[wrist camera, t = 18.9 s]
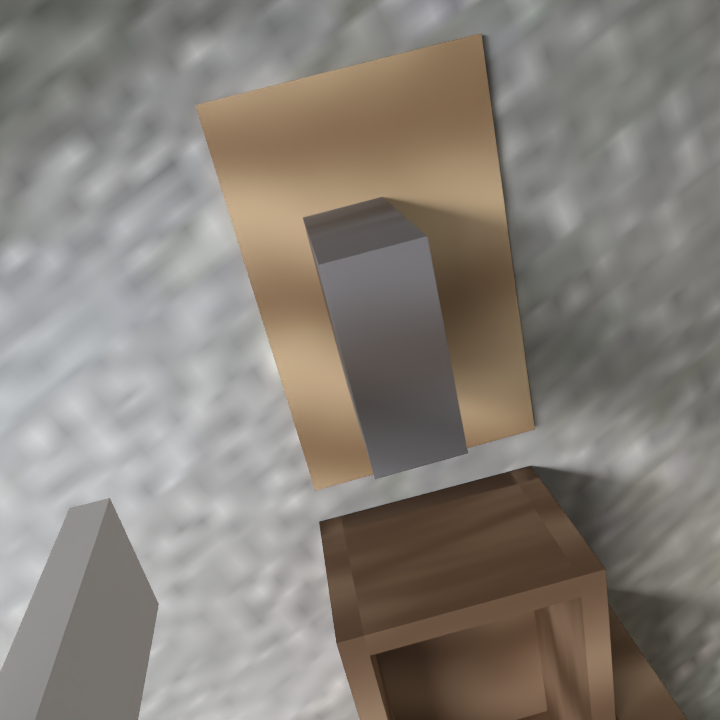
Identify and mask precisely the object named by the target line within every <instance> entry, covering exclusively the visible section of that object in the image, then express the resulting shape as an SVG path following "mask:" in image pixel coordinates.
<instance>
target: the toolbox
mask: <svg viewBox="0 0 720 720" xmlns="http://www.w3.org/2000/svg"><path fill="white" fill-rule="evenodd" d="M319 524H320V531H321V538H322V545H323V552H324V559H325V566H326V573H327V580H328V587H329V594H330V601H331V608H332V615H333V622H334V629H335V636H336V643H337V646H338V650H339V653H340V656H341V659H342V663H343V666H344V669H345V672H346V676H347V679H348V682H349V686H350V689H351V692H352V695H353V699H354V702H355V705H356V708H357V712H358V715H359V718H360V720H687V719H686V717H685V716H684V714H683V713H682V712H681V710H680V709H679V707H678V706H677V704H676V703H675V701H674V700H673V698H672V697H671V695H670V694H669V692H668V691H667V690H666V688H665V687H664V685H663V684H662V682H661V681H660V679H659V678H658V676H657V675H656V673H655V672H654V670H653V669H652V667H651V666H650V665H649V663H648V662H647V660H646V659H645V657H644V656H643V654H642V653H641V651H640V650H639V648H638V647H637V645H636V644H635V643H634V641H633V640H632V638H631V637H630V635H629V634H628V632H627V631H626V629H625V628H624V626H623V625H622V623H621V622H620V620H619V619H618V618H617V616H616V615H615V613H614V612H613V610H612V609H611V607H610V606H609V604H608V596H607V581H606V569H605V568H604V566H603V565H602V563H601V562H600V561H599V559H598V558H597V557H596V555H595V554H594V552H593V551H592V550H591V548H590V547H589V546H588V544H587V543H586V541H585V540H584V539H583V537H582V536H581V534H580V533H579V532H578V530H577V529H576V528H575V526H574V525H573V523H572V522H571V521H570V519H569V518H568V517H567V515H566V514H565V512H564V511H563V510H562V508H561V507H560V506H559V504H558V503H557V501H556V500H555V499H554V497H553V496H552V494H551V493H550V492H549V490H548V489H547V488H546V486H545V485H544V483H543V482H542V481H541V479H540V478H539V477H538V475H537V474H536V472H535V471H534V470H533V468H532V467H531V466H530V467H526V468H522V469H518V470H515V471H511V472H507V473H503V474H499V475H496V476H492V477H488V478H484V479H481V480H477V481H473V482H469V483H465V484H462V485H458V486H454V487H450V488H447V489H443V490H439V491H435V492H431V493H428V494H424V495H420V496H416V497H413V498H409V499H405V500H401V501H397V502H394V503H390V504H386V505H382V506H379V507H375V508H371V509H367V510H363V511H360V512H356V513H352V514H348V515H345V516H341V517H337V518H333V519H329V520H326V521H322V522H319Z"/></svg>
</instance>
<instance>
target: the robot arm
mask: <svg viewBox="0 0 720 720" xmlns="http://www.w3.org/2000/svg"><path fill="white" fill-rule="evenodd" d="M158 605H159V604H158V602H157V600H156V597H155V595H154V593H153V591H152V589H151V586H150V584H149V582H148V580H147V578H146V576H145V573H144V571H143V569H142V567H141V565H140V563H139V560H138V558H137V556H136V554H135V552H134V550H133V547H132V545H131V543H130V541H129V539H128V537H127V534H126V532H125V530H124V528H123V526H122V523H121V521H120V519H119V517H118V515H117V513H116V510H115V508H114V506H113V504H112V502H111V500H110V498H109V499H105V500H101V501H97V502H93V503H89V504H85V505H81V506H78V507H74V508H70V509H69V511H68V513H67V516H66V518H65V520H64V523H63V525H62V528H61V530H60V532H59V535H58V537H57V539H56V542H55V544H54V547H53V549H52V551H51V554H50V556H49V558H48V561H47V563H46V565H45V568H44V570H43V573H42V575H41V577H40V580H39V582H38V584H37V587H36V589H35V592H34V594H33V596H32V599H31V601H30V603H29V606H28V608H27V610H26V613H25V615H24V618H23V620H22V622H21V625H20V627H19V629H18V632H17V634H16V637H15V639H14V641H13V644H12V646H11V648H10V651H9V653H8V655H7V658H6V660H5V663H4V665H3V667H2V670H1V672H0V720H138V716H139V711H140V705H141V700H142V694H143V688H144V683H145V677H146V672H147V666H148V661H149V655H150V649H151V644H152V638H153V633H154V627H155V621H156V616H157V610H158Z"/></svg>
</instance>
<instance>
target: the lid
mask: <svg viewBox="0 0 720 720" xmlns="http://www.w3.org/2000/svg"><path fill="white" fill-rule="evenodd" d="M196 109H197V112H198V115H199V118H200V121H201V125H202V128H203V131H204V134H205V137H206V141H207V144H208V147H209V150H210V154H211V157H212V160H213V163H214V166H215V170H216V173H217V176H218V179H219V182H220V186H221V189H222V192H223V195H224V198H225V202H226V205H227V208H228V211H229V215H230V218H231V221H232V224H233V227H234V231H235V234H236V237H237V240H238V243H239V247H240V250H241V253H242V256H243V260H244V263H245V266H246V269H247V272H248V276H249V279H250V282H251V285H252V288H253V292H254V295H255V298H256V301H257V304H258V308H259V311H260V314H261V317H262V321H263V324H264V327H265V330H266V333H267V337H268V340H269V343H270V346H271V349H272V353H273V356H274V359H275V362H276V366H277V369H278V372H279V375H280V378H281V382H282V385H283V388H284V391H285V394H286V398H287V401H288V404H289V407H290V410H291V414H292V417H293V420H294V423H295V427H296V430H297V433H298V436H299V439H300V443H301V446H302V449H303V452H304V455H305V459H306V462H307V465H308V468H309V472H310V475H311V478H312V481H313V484H314V488H315V490H319V489H322V488H326V487H330V486H333V485H337V484H340V483H344V482H347V481H351V480H355V479H358V478H362V477H365V476H369V475H373V474H374V477H375V479H377V478H381V477H384V476H388V475H392V474H395V473H399V472H402V471H406V470H409V469H413V468H417V467H420V466H424V465H427V464H431V463H434V462H438V461H442V460H445V459H449V458H452V457H456V456H460V455H463V454H467V453H468V450H467V448H469V447H473V446H476V445H480V444H484V443H487V442H491V441H494V440H498V439H502V438H505V437H509V436H512V435H516V434H519V433H523V432H527V431H530V430H534V429H535V427H534V419H533V412H532V404H531V397H530V390H529V382H528V375H527V367H526V360H525V353H524V345H523V338H522V331H521V323H520V316H519V308H518V301H517V294H516V286H515V279H514V271H513V264H512V257H511V249H510V242H509V234H508V227H507V220H506V212H505V205H504V197H503V190H502V183H501V175H500V168H499V160H498V153H497V146H496V138H495V131H494V123H493V116H492V109H491V101H490V94H489V86H488V79H487V72H486V64H485V57H484V50H483V42H482V35H481V33H480V34H476V35H472V36H468V37H464V38H460V39H456V40H453V41H449V42H445V43H441V44H437V45H433V46H429V47H425V48H421V49H417V50H413V51H409V52H405V53H401V54H397V55H393V56H389V57H385V58H381V59H377V60H373V61H369V62H365V63H361V64H357V65H353V66H349V67H345V68H341V69H337V70H333V71H329V72H325V73H321V74H317V75H313V76H309V77H305V78H301V79H297V80H293V81H289V82H285V83H281V84H277V85H274V86H270V87H266V88H262V89H258V90H254V91H250V92H246V93H242V94H238V95H234V96H230V97H226V98H222V99H218V100H214V101H210V102H206V103H202V104H198V105H196Z"/></svg>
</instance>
